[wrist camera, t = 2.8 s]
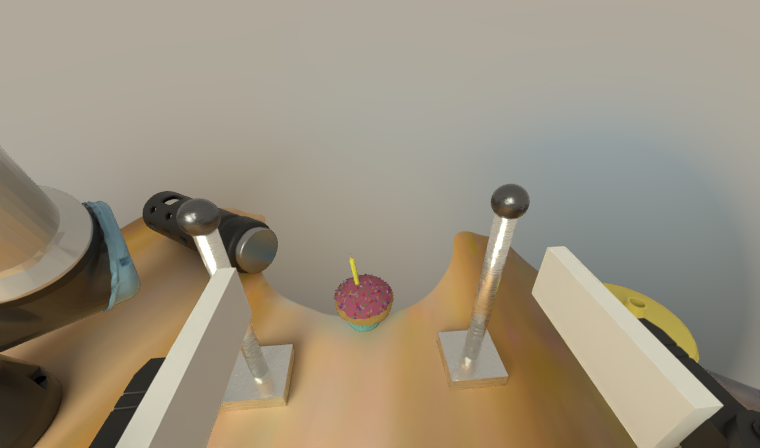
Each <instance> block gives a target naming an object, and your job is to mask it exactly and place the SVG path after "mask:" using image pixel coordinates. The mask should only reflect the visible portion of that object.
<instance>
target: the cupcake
mask: <svg viewBox="0 0 760 448" xmlns="http://www.w3.org/2000/svg"><path fill="white" fill-rule="evenodd" d="M349 255H350V259H349V260H350V264H351V268H352V273H353V277H352V278H349V279H347V280H346V281H343V283H342V284H340V286H339V287H338V289H337V290H335V291H336V293H335V295H334V299H335V300H336V309H337V311H338V313H339V315H340V316H341V317H342V318H343V319H345V320H346V321H348V322H349V323H350V325H351V326H352V327H353V328H354V329H356V330H358V331H369V330H372V329H374V328H375V327H376V326H377V325H378V323H379V321H382V320H383V319H385V318H386V317H387V315H388V314H389V312H390V310H391V306H392V302H393V292H392V289H391V288H390V286H389V285H388V284H386V282H384V281H383V280H381V279H380V278H377V277H375V276H373V275H366V274H365V275H358V274H357V270H356V265H355V261H354V258H353V257H352V256H351V254H350V253H349Z"/></svg>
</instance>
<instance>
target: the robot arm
mask: <svg viewBox="0 0 760 448" xmlns="http://www.w3.org/2000/svg"><path fill="white" fill-rule="evenodd" d="M140 286H141V284H140V280H139V277H138V274H137V271H136V269H135V266H134V264H133V261H132V259H131V257H130V254H129V251H128V249H127V246H126V243H125V241H124V238H123V236H122V234H121V231H120V229H119V226H118V224H117V222H116V219H115V217H114V215H113V212H112V210H111V208H110V207H109V205H108V204H107V203H105V202H101V201H98V202H84V203H80V202H79V201H78V200H77V199H76V198H74V197H73V196H71V195H69V194H67V193H65V192H63V191H60V190H57V189H54V188H50V187H47V186H41V185H37V184H36V183H35V182H34V181H33V180H32V179H31V178H30V177H29V176H28V175H27V174H26V173H25V172H24V171H23V170H22V169H21V168H20V166H19V165H18V164H17V163H16V162H15V161H14V160H13V159H12V158H11V157H10V156H9V155H8V154H7V153H6V152H5V151H4V150H3V149H2V148H1V146H0V352H2V351H5V350H7V349H10V348H12V347H14V346H17V345H19V344H22V343H24V342H27V341H29V340H32V339H34V338H37V337H39V336H41V335H44V334H46V333H49V332H51V331H54V330H56V329H59V328H61V327H63V326H66V325H68V324H71V323H73V322H76V321H78V320H81V319H83V318H86V317H88V316H90V315H93V314H95V313H98V312H100V311H107V310H110V309H111V308H112V307H113V306H114V305H116V304H119V303H121V302H123V301H125V300H127V299H130V298H132V297H133V296H134V295H136V294H137V293H138V291H139V289H140ZM532 295H533V296H534V298H535V299H536V301H537V302H538V303H539V305H540V306H541V308H542V309H543V311H544V312H545V314H546V315H547V316H548V318H549V319H550V321H551V322H552V324H553V325H554V327H555V328H556V329H557V331H558V332H559V334H560V335H561V337H562V338H563V340H564V341H565V342H566V344H567V345H568V347H569V348H570V350H571V351H572V353H573V354H574V355H575V357H576V358H577V360H578V361H579V363H580V364H581V366H582V367H583V369H584V370H585V371H586V373H587V374H588V376H589V377H590V379H591V380H592V382H593V383H594V384H595V386H596V387H597V389H598V390H599V392H600V393H601V395H602V396H603V397H604V399H605V400H606V402H607V403H608V405H609V406H610V408H611V409H612V410H613V412H614V413H615V415H616V416H617V418H618V419H619V421H620V422H621V423H622V425H623V426H624V428H625V429H626V431H627V432H628V434H629V435H630V436H631V438H632V439H633V441H634V442H635V444H636V445H637V447H638V448H676V447H677V446H678V445H679V444H680V445H681V447H682V448H760V412H757V411H754V410H747V409H746V408H745V407H744V406H742V405H741V404H740V403H739V402H738V401H737V400H736V399H735V398H734V397H732V396H731V395H730V394H729V393H728V392H727V391H726V390H725V389H724V388H723V387H722V386H721V385H720V384H719V383H718V382H717V381H716V380H715V379H714V378H713V377H712V376H711V375H709V374H708V373H707V372H706V371H705V370H704V369H703V368H702V367H701V366H700V365H699V364H698V363H697V362H696V361H695V360H694V359H693V358H690V357H689V354H687V353H686V352H685V351H684V350H683V349H682V348H681V347H680V346H677V343H676V342H675V341H674V340H673V339H672V338H671V337H670V336H669V335H668V334H667V333H666V332H664V331H663V330H662V329H661V328H659V327H658V326H656V325H655V324H653V323H651V322H650V321H648V320H647V319H645V318H636V317H635V316H634V315H633V314H632V313H631V312H630V311H629V310H628V309H627V308H626V307H625V306H624V305H623V304H622V303H621V302H620V301H619V300H618V299H617V298H616V297H615V296H614V295H613V294H612V293H611V292H610V291H609V290H608V289H607V288H606V287H605V286H604V285H603V284H602V283H601V282H600V281H599V280H598V279H597V278H596V277H595V276H594V275H593V274H592V273H591V272H590V271H589V270H588V269H587V268H586V267H585V266H584V265H583V264H582V263H581V262H580V261H579V260H578V259H577V258H576V257H575V256H574V255H573V254H572V253H571V252H570V251H569V250H568V249H567V248H566V247H565V246H561V247H548V248H547V251H546V253H545V256H544V259H543V262H542V265H541V268H540V270H539V273H538V276H537V279H536V282H535V285H534V288H533V290H532ZM251 316H252V311H251V309H250V306H249V303H248V300H247V297H246V295H245V292H244V289H243V286H242V283H241V281H240V278H239V275H238V272H237V269H236V268H220V269H216V270H215V272H214V274H213V276H212V277H211V279H210V281H209V283H208V284H207V286H206V288H205V290H204V292H203V293H202V295H201V297H200V299H199V300H198V302H197V304H196V306H195V307H194V309H193V311H192V313H191V315H190V316H189V318H188V320H187V322H186V323H185V325H184V327H183V329H182V330H181V332H180V334H179V336H178V338H177V339H176V341H175V343H174V345H173V346H172V348H171V350H170V352H169V353H168V355H167V357H165V358H153V359H150V360H149V361H148V362H147V363H146V364H145V365H144V366H143V367H142V368H141V369H140V370H139V371H138V372H137V373H136V374H135V375H134V376H133V378H132V380H131V381H130V383H129V384H128V386H127V387H126V389H125V391H124V392H123V393H124V394H123V396H121V397H120V399H119V400H118V402H117V403H116V405H115V407H114V410H113V411H111V413H110V414H109V416H108V418H107V419H106V421H105V422H104V424H103V426H102V427H101V429H100V430H99V432H98V434H97V435H96V437H95V438H94V440H93V441H92V443H91V445H90V446H89V448H206V446H207V443H208V440H209V437H210V434H211V432H212V429H213V426H214V423H215V420H216V417H217V414H218V411H219V409H220V406H221V403H222V400H223V397H224V394H225V391H226V388H227V386H228V383H229V380H230V377H231V374H232V371H233V368H234V365H235V363H236V360H237V357H238V354H239V351H240V348H241V345H242V342H243V339H244V337H245V334H246V331H247V328H248V325H249V322H250V319H251ZM61 397H62V388H61V385H60V383H59V381H58V380H57V379H56V378H55V377H54V376H53V375H52V374H51V373H49V372H48V371H47V370H46V369H44V368H43V367H41V366H38V365H35V364H32V363H28V362H25V361H21V360H18V359H15V358H11V357H8V356H5V355H1V354H0V448H31V447H32V446H33V445H34V444H35V442H36V441H37V440H38V439H39V438H40V437H41V435H42V434H43V433H44V431H45V430H46V429H47V427H48V426H49V424H50V423H51V421H52V419H53V418H54V416H55V414H56V412H57V410H58V407H59V405H60V402H61Z"/></svg>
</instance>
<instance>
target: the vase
mask: <svg viewBox="0 0 760 448" xmlns="http://www.w3.org/2000/svg"><path fill="white" fill-rule="evenodd" d="M602 284H603V285H604V286H605V287H606V288H607V289H608V290H609V291H610V292H611V293H612V294H613V295H614V296H615V297H616V298H617V299H618V300H619V301H620V302H621V303H622V304H623V305H624V306H625V307H626V308H627V309H628V310H629V311H630V312H631V313H632V314H633V315H634V316H635V317H636V318H645V319H647V320H648V321H650V322H651V323H653V324H655V325H656V326H658V327H659V328H661V329H662V330H663V331H664V332H666V333H667V334H668V335H669V336H670V337H671V338H672V339H673V340H674V341H675V342H676V343H677V346H680V347H681V348H682V349H683V350H684V351H685V352H686V353H687V354H689V357H690V358H693V359H694V360H695V361H696V362H697V363H698V361H699V353H698V347H697V345H696V343H695V341H694V339H693V337H692V335H691V333H690V332H689V330H688V329H687V328H686V326H685V325H684V324H683V323H682V322H681V321H680V320H679V318H678V317H676V316H675V315H674V314H673V313H671V312H670V311H669V310H668V309H667V308H665V307H664V306H662V305H661V304H659V303H657V302H656V301H654V300H653V299H651V298H649V297H647V296H645V295H643V294H641V293H638V292H636V291H634V290H631V289H628V288H625V287H622V286H618V285H614V284H609V283H602Z"/></svg>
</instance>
